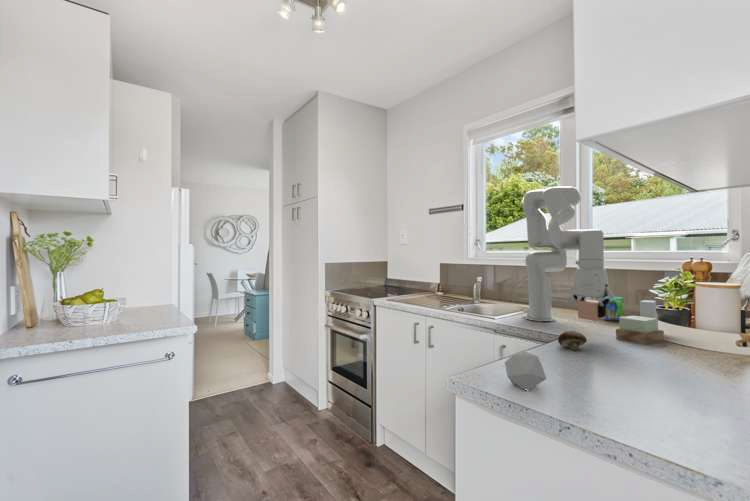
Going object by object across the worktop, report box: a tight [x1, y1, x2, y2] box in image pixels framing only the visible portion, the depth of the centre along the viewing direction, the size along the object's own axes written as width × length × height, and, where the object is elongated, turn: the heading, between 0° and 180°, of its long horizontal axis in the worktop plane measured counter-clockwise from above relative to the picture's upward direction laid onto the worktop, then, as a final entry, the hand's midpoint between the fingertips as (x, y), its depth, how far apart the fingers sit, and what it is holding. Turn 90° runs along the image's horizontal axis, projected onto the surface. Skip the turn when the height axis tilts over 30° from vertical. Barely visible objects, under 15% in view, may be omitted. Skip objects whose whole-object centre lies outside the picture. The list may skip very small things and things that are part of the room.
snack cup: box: [594, 296, 624, 322], centre depth 159 cm, size 16×10×10 cm
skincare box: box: [639, 299, 658, 319], centre depth 131 cm, size 6×4×12 cm
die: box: [504, 350, 547, 391], centre depth 81 cm, size 8×9×10 cm
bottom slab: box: [615, 327, 665, 346], centre depth 122 cm, size 10×10×4 cm
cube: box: [577, 299, 605, 322], centre depth 123 cm, size 6×6×6 cm
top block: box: [618, 315, 659, 333], centre depth 122 cm, size 8×8×4 cm
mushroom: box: [557, 330, 588, 351], centre depth 112 cm, size 8×8×6 cm
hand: (591, 314), depth 123 cm, fingers closed on cube, 6 cm apart
